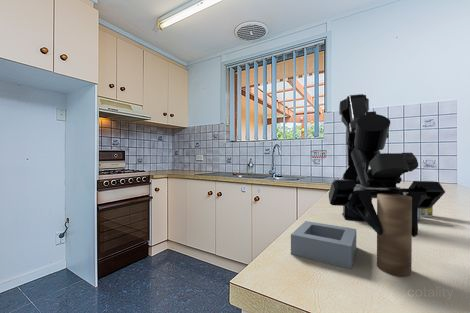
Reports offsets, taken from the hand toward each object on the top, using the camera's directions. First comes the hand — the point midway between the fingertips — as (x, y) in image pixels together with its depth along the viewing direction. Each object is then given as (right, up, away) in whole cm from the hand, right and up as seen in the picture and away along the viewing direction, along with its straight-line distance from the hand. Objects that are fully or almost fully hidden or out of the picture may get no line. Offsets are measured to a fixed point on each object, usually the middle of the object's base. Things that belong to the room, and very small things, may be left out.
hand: (398, 234), depth 38 cm
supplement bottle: (+34, -6, +36) cm, 50 cm away
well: (-9, -7, +9) cm, 14 cm away
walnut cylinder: (0, -7, +1) cm, 7 cm away
